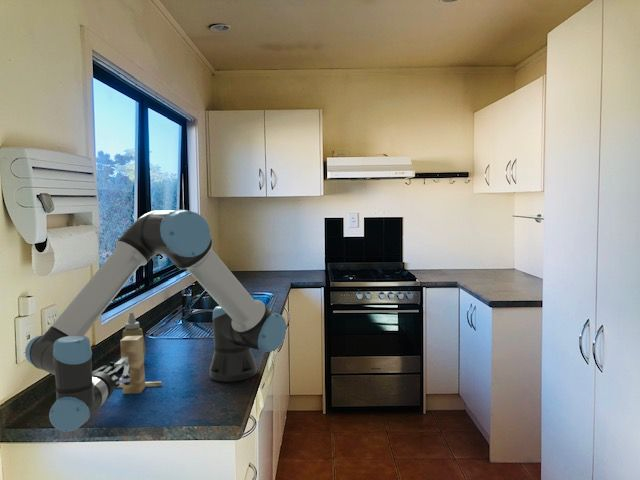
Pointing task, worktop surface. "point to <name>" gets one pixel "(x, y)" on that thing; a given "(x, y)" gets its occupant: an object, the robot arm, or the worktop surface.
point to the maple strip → (146, 384)
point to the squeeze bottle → (133, 329)
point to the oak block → (134, 363)
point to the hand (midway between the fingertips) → (125, 361)
